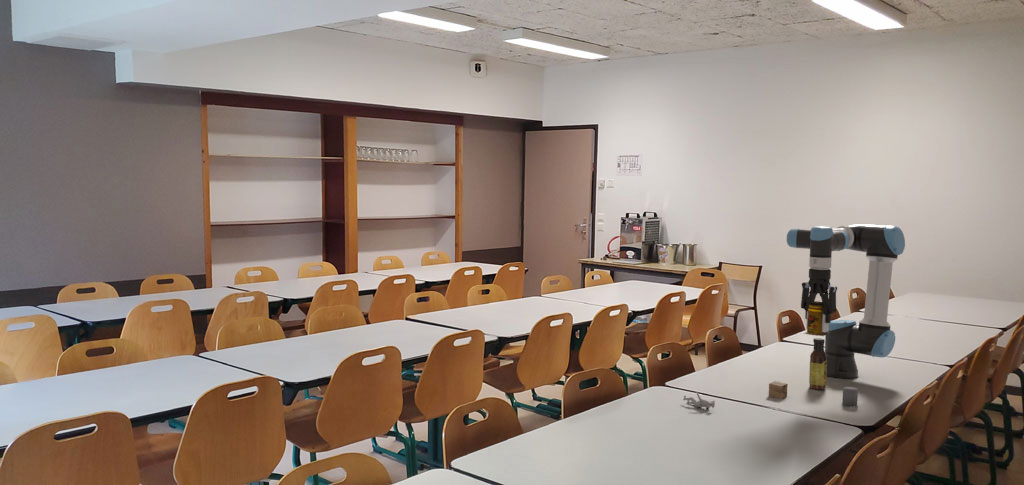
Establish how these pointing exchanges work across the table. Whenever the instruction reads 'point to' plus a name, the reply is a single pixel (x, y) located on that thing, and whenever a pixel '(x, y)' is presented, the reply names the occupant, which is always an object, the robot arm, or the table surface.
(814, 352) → the sauce bottle
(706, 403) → the soldier figure
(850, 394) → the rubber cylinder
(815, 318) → the condiment
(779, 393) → the walnut block
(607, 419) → the table surface
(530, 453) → the table surface
